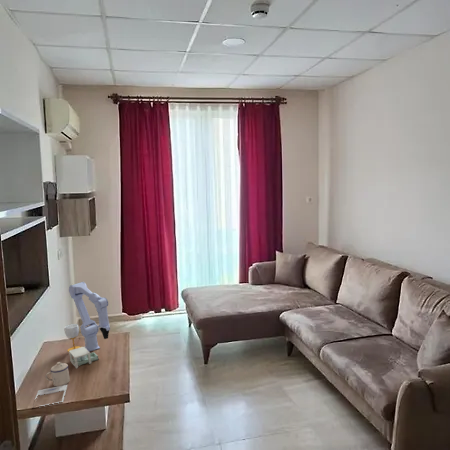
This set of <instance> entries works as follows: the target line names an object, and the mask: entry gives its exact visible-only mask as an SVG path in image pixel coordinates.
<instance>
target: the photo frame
mask: <svg viewBox="0 0 450 450" xmlns="http://www.w3.org/2000/svg"><path fill="white" fill-rule="evenodd" d="M67 389H68V384H65V385H63V386H53V387H49V388H44V389H38V390H37V392H36V395H35V397H34V400H35V399H36V398H37V399H38V397H39V396H38V395H40V396H44V394H45V395H50V394H54V393H60V392H63V395H62V398H61V401H57V402H52V404H53V405H55V404H54V403H58V404H60V403H59V402H63V403H64V400H65V397H64V396H66V391H67ZM59 391H60V392H59ZM37 396H38V397H37ZM49 404H50V403H45V404H42V405H40V406H44V407H46V406H45V405H49ZM49 406H50V405H49Z"/></svg>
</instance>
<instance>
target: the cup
mask: <svg viewBox="0 0 450 450" xmlns="http://www.w3.org/2000/svg"><path fill="white" fill-rule="evenodd" d="M79 327H80V326H79V324H78V323H71V324H68V325H65V326H64V334H65V336H66V338H68V339H69V340H72V347H70V348H68V349H67V353H69V351H70V350H73V349H77V348H80V347H81V346H79V345H78V346H77V345H75V339H76V338H77V337H78V336H79V331H80V328H79Z"/></svg>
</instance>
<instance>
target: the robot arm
mask: <svg viewBox="0 0 450 450" xmlns="http://www.w3.org/2000/svg"><path fill="white" fill-rule="evenodd" d="M68 293H69V295H70V297H71V299H72V300H73V301H74V305H75V307H76V309H77V312H78V313H79V316H80V319H81V321H82V324H81V325H80V326H79V327H80V328H79V329H80V333H81V335H82V337H83V338H84V347H85V348H86V349H87V350H88V351H89V352H90V353H91V352H92V351H93V352H94V351H96V350H99V349H100V348H101V347H100V346H99V344H98V337H97V335H98V332H99V331H100V332H101V334H102V336H103V339H104V340H107V339H109V333H110V330H111V326H110V321H109V314H108V313H109V312H108V306H109V301H108V299H107V297H102V296H100V295H99V294H98V293H96V292H92V290H90V289H89V288H88V285H87V283H86V282H85V281H81V282H78V283H75V284H71V285H69V286H68ZM84 295H85V296H86V297H88V300H89V301H90V302H91V303H92V304H93V305H94V308H95V309H96V311H97V316H98V324H97V323H96V320H93V319H92V318H90V314H89V312H88V309H87V307H86V305H85V304H86V303H85V302H84V299H83V296H84Z"/></svg>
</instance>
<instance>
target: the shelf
mask: <svg viewBox="0 0 450 450" xmlns="http://www.w3.org/2000/svg"><path fill="white" fill-rule="evenodd" d="M90 353H91V351H90V352H89V351H88V350H87V349H86V348H85V345H84V346H80V348H77V349H73V350H70V351H69V352H68V354H69V361H70V363H71V364H72V365H73V367H75V369H78V368H79V366H78V362H77V358H79V357H82V356H85V355H88V361H89V363H88V364H89V365H92V362H91V356H90ZM73 359H74V360H75V363H74V362H73Z"/></svg>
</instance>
